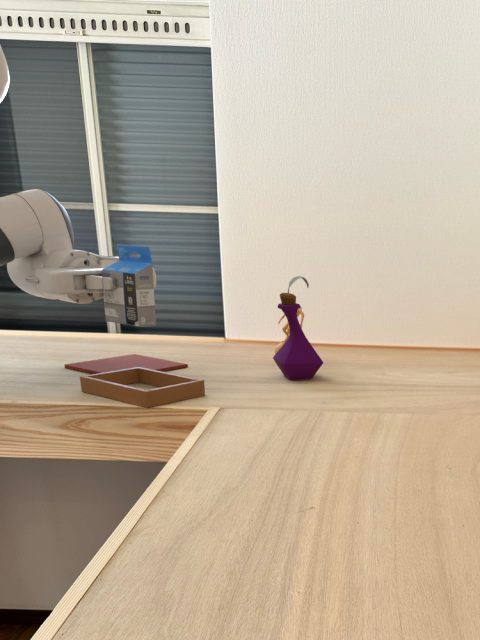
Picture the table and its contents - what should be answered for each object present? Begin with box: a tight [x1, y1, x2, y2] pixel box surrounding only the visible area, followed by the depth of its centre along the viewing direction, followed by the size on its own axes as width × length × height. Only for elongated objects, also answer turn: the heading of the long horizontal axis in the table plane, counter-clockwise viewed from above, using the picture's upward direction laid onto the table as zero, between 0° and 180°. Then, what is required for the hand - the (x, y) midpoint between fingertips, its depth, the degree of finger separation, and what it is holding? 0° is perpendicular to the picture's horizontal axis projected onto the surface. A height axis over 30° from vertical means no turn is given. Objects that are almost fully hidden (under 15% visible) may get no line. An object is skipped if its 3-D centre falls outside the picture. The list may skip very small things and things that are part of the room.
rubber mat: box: [64, 353, 189, 375], centre depth 139 cm, size 16×16×1 cm
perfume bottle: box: [272, 275, 324, 381], centre depth 132 cm, size 8×8×18 cm
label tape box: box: [102, 244, 157, 328], centre depth 119 cm, size 9×4×12 cm, turn 55°
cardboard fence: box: [79, 367, 206, 409], centre depth 119 cm, size 12×17×2 cm
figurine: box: [274, 305, 305, 355], centre depth 148 cm, size 8×6×12 cm
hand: (127, 283), depth 119 cm, fingers closed on label tape box, 4 cm apart
